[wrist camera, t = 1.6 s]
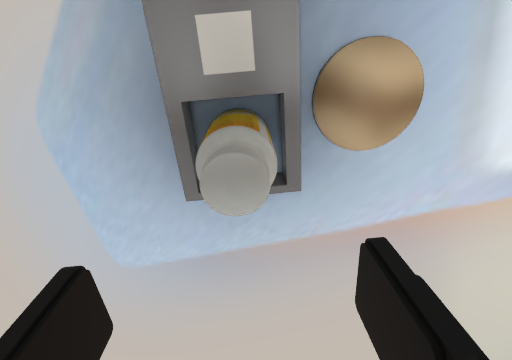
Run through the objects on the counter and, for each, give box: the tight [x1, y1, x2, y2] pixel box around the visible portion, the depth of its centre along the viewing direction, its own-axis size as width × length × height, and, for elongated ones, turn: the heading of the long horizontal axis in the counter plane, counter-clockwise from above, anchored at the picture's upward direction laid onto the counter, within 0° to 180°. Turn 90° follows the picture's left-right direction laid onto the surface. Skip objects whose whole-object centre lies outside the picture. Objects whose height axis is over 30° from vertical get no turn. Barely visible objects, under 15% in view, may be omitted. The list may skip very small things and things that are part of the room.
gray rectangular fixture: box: [142, 0, 301, 201], centre depth 21 cm, size 16×10×3 cm, turn 4°
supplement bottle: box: [196, 108, 277, 216], centre depth 19 cm, size 5×5×10 cm
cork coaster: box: [312, 36, 424, 151], centre depth 22 cm, size 9×9×1 cm
